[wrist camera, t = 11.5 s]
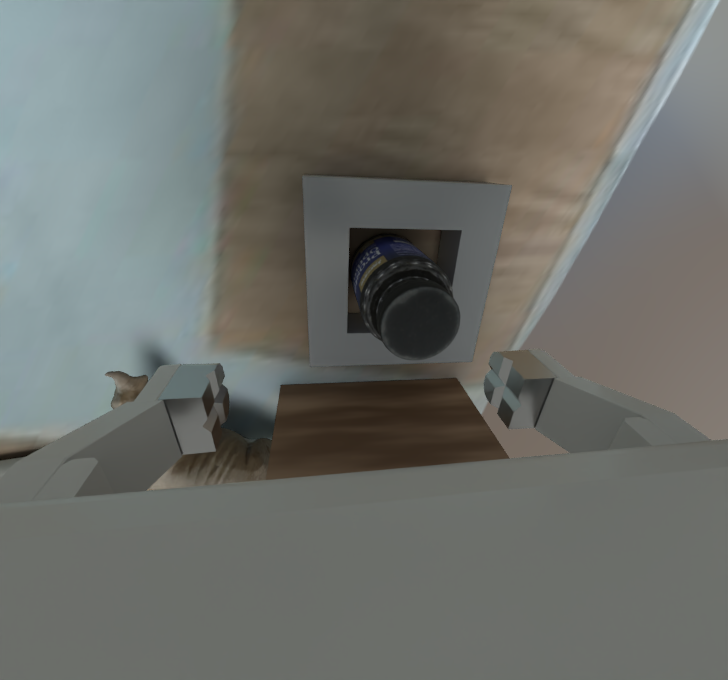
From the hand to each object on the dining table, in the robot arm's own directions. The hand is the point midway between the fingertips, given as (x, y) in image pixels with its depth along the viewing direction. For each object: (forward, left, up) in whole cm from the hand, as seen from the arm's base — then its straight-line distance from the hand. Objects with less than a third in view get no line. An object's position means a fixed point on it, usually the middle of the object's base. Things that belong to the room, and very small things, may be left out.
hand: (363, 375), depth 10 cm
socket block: (+2, +5, -19) cm, 20 cm away
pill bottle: (+2, +4, -19) cm, 20 cm away
